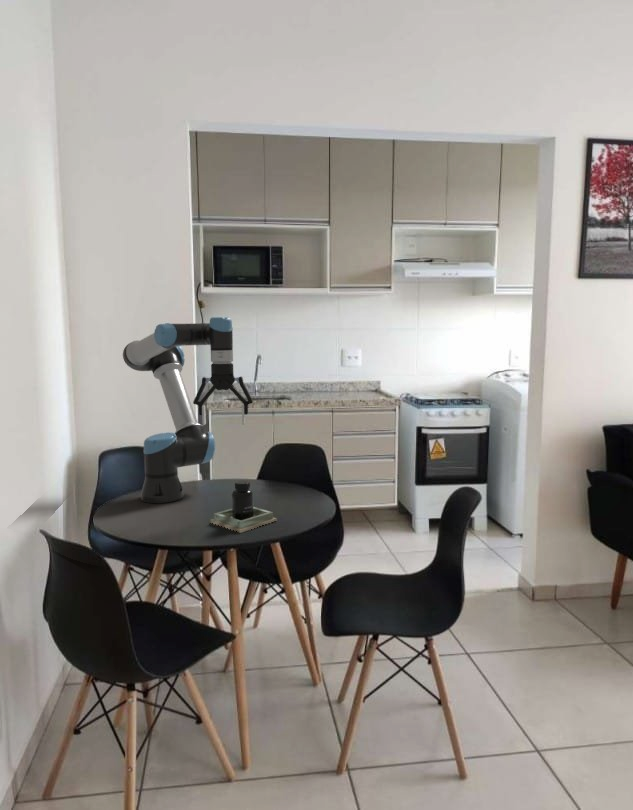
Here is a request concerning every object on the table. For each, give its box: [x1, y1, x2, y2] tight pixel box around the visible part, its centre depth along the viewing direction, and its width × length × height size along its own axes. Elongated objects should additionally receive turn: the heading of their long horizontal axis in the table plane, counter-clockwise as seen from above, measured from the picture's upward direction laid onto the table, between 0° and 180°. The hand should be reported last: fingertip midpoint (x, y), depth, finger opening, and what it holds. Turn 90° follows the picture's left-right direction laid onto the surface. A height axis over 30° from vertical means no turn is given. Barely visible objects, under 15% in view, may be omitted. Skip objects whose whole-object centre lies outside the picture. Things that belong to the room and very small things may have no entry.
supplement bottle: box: [231, 480, 255, 520], centre depth 197 cm, size 7×7×12 cm
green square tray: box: [209, 506, 278, 534], centre depth 197 cm, size 15×15×3 cm
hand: (223, 424), depth 214 cm, fingers open, 13 cm apart
